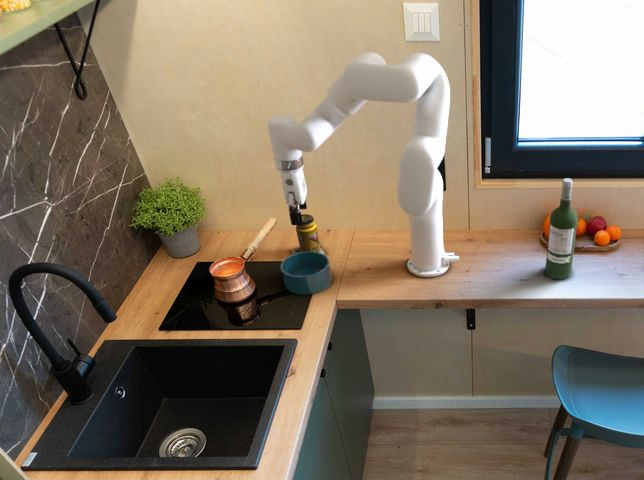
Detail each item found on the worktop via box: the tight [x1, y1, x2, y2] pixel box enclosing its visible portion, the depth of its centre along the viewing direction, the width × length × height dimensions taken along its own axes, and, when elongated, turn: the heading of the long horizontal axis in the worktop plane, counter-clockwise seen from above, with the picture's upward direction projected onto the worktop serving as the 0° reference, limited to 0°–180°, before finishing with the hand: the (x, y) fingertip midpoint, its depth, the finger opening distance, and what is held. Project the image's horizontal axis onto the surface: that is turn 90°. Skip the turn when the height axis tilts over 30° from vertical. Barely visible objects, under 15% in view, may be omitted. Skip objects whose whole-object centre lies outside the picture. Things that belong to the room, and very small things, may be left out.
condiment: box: [290, 213, 326, 255], centre depth 182 cm, size 7×8×12 cm
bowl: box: [280, 251, 333, 295], centre depth 172 cm, size 13×13×6 cm
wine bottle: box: [544, 177, 579, 280], centre depth 172 cm, size 8×8×30 cm
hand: (299, 216), depth 178 cm, fingers open, 9 cm apart
